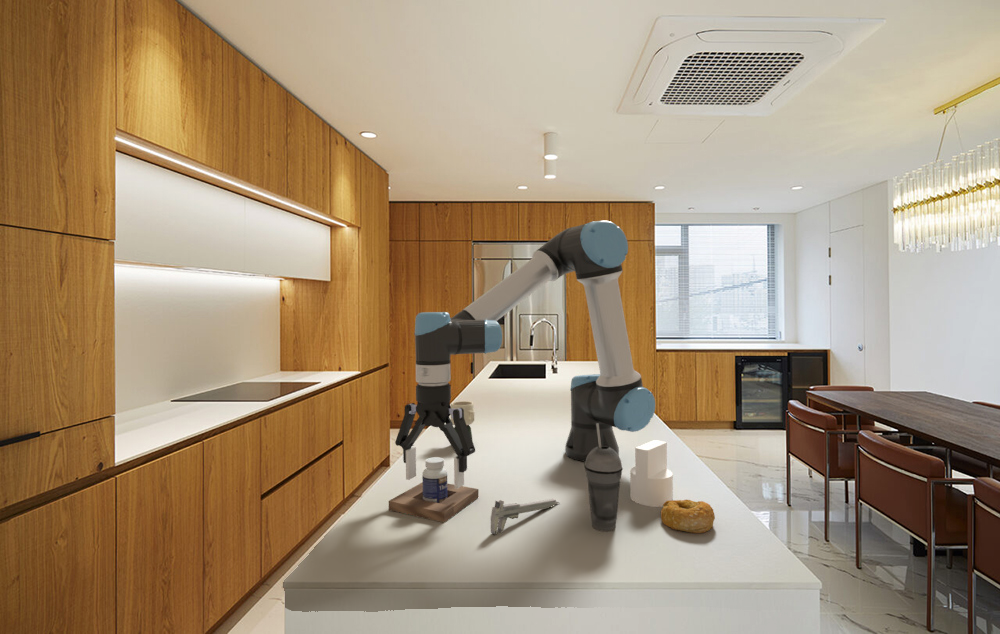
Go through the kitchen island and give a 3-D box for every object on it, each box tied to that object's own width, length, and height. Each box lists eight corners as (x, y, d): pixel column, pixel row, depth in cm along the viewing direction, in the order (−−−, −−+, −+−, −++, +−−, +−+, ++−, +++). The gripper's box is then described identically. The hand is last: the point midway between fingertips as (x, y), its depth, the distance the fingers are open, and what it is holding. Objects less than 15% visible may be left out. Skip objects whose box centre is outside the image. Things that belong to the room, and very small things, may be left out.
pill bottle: (443, 509, 105) (442, 464, 105) (419, 508, 106) (418, 462, 106) (450, 500, 111) (450, 456, 110) (427, 498, 112) (427, 455, 112)
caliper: (494, 537, 93) (494, 504, 93) (490, 535, 94) (490, 502, 94) (559, 504, 108) (559, 476, 108) (555, 503, 109) (555, 474, 109)
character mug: (482, 446, 153) (482, 403, 152) (465, 450, 148) (464, 407, 147) (460, 439, 161) (459, 399, 160) (442, 443, 156) (442, 402, 155)
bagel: (702, 512, 103) (703, 490, 103) (723, 537, 92) (723, 512, 92) (654, 512, 104) (654, 489, 104) (668, 536, 93) (668, 511, 93)
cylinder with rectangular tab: (643, 488, 117) (643, 437, 117) (680, 498, 110) (680, 444, 110) (622, 498, 111) (622, 445, 110) (660, 510, 104) (660, 453, 104)
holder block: (478, 497, 112) (478, 489, 112) (444, 522, 99) (444, 512, 99) (426, 488, 118) (426, 479, 118) (388, 510, 105) (388, 500, 105)
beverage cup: (615, 538, 92) (615, 430, 91) (578, 528, 96) (578, 425, 95) (627, 523, 98) (627, 422, 98) (592, 515, 102) (592, 418, 102)
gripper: (378, 382, 110) (379, 479, 110) (473, 389, 99) (474, 497, 100) (399, 377, 117) (400, 469, 117) (490, 384, 106) (491, 484, 106)
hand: (434, 482), depth 108 cm, fingers open, 12 cm apart
